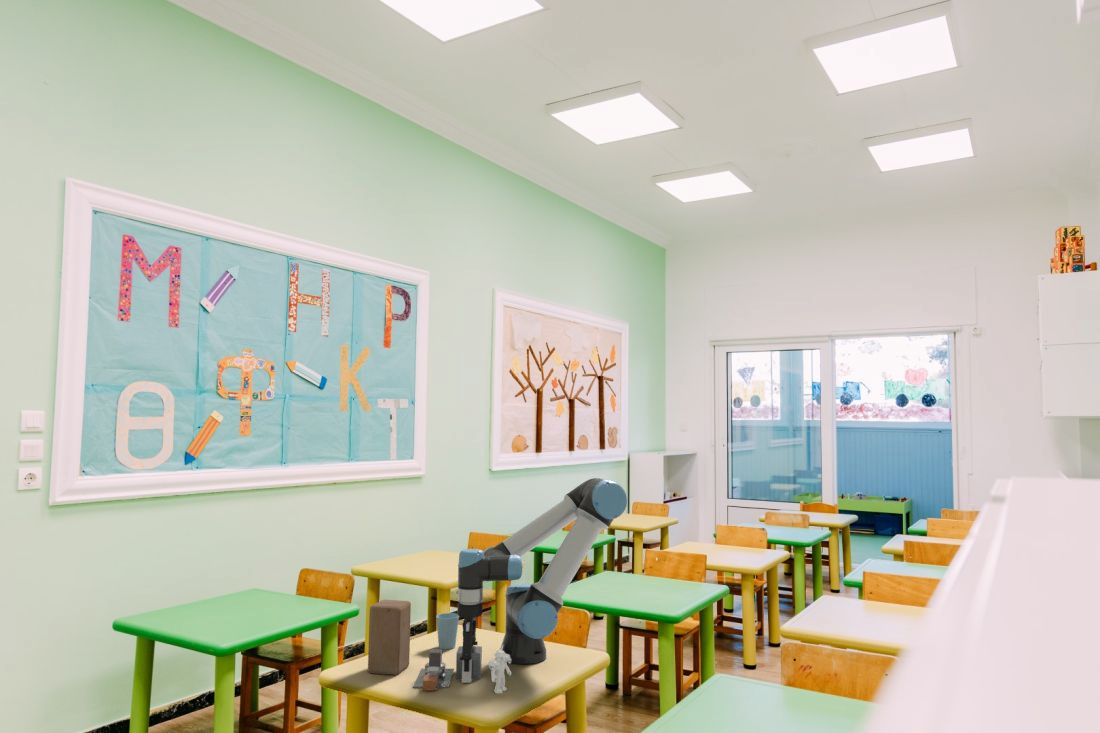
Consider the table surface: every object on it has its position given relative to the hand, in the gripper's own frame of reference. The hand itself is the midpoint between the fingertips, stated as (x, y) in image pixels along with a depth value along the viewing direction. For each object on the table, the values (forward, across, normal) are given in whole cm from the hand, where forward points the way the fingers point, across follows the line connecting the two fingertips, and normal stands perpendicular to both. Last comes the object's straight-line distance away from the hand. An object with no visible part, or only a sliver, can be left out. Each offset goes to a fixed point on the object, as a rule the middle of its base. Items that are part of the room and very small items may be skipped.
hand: (468, 674), depth 222 cm
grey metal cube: (0, 0, 0) cm, 0 cm away
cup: (0, -29, -10) cm, 31 cm away
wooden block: (0, -5, -25) cm, 25 cm away
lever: (0, +4, -10) cm, 11 cm away
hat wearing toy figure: (0, +13, +10) cm, 16 cm away
